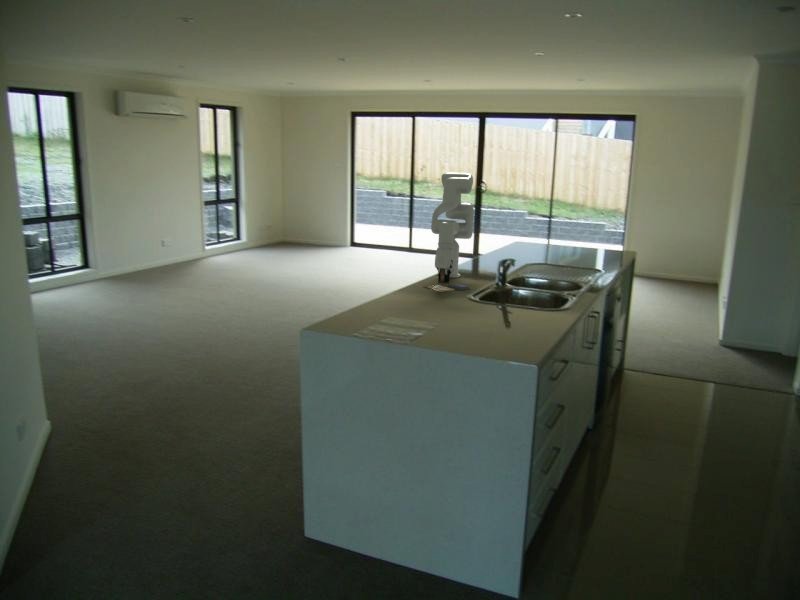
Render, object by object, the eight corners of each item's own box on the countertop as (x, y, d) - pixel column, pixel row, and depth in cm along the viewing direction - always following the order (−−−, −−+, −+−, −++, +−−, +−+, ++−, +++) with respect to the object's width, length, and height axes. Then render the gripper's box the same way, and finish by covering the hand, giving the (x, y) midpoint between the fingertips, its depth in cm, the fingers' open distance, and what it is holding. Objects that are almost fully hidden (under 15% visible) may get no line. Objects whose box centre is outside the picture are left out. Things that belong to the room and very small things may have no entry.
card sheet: (422, 287, 333) (422, 286, 333) (436, 285, 339) (436, 284, 339) (441, 291, 323) (441, 291, 323) (455, 289, 329) (455, 289, 329)
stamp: (438, 283, 328) (438, 267, 326) (443, 282, 330) (444, 266, 328) (443, 284, 325) (444, 268, 323) (449, 283, 327) (449, 267, 325)
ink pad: (448, 287, 335) (448, 284, 334) (457, 286, 339) (457, 283, 339) (460, 290, 328) (460, 287, 328) (469, 289, 333) (470, 286, 332)
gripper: (429, 244, 327) (427, 279, 331) (451, 248, 315) (449, 284, 319) (439, 243, 332) (438, 278, 336) (462, 247, 320) (460, 283, 323)
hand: (443, 280), depth 327 cm, fingers closed on stamp, 3 cm apart
